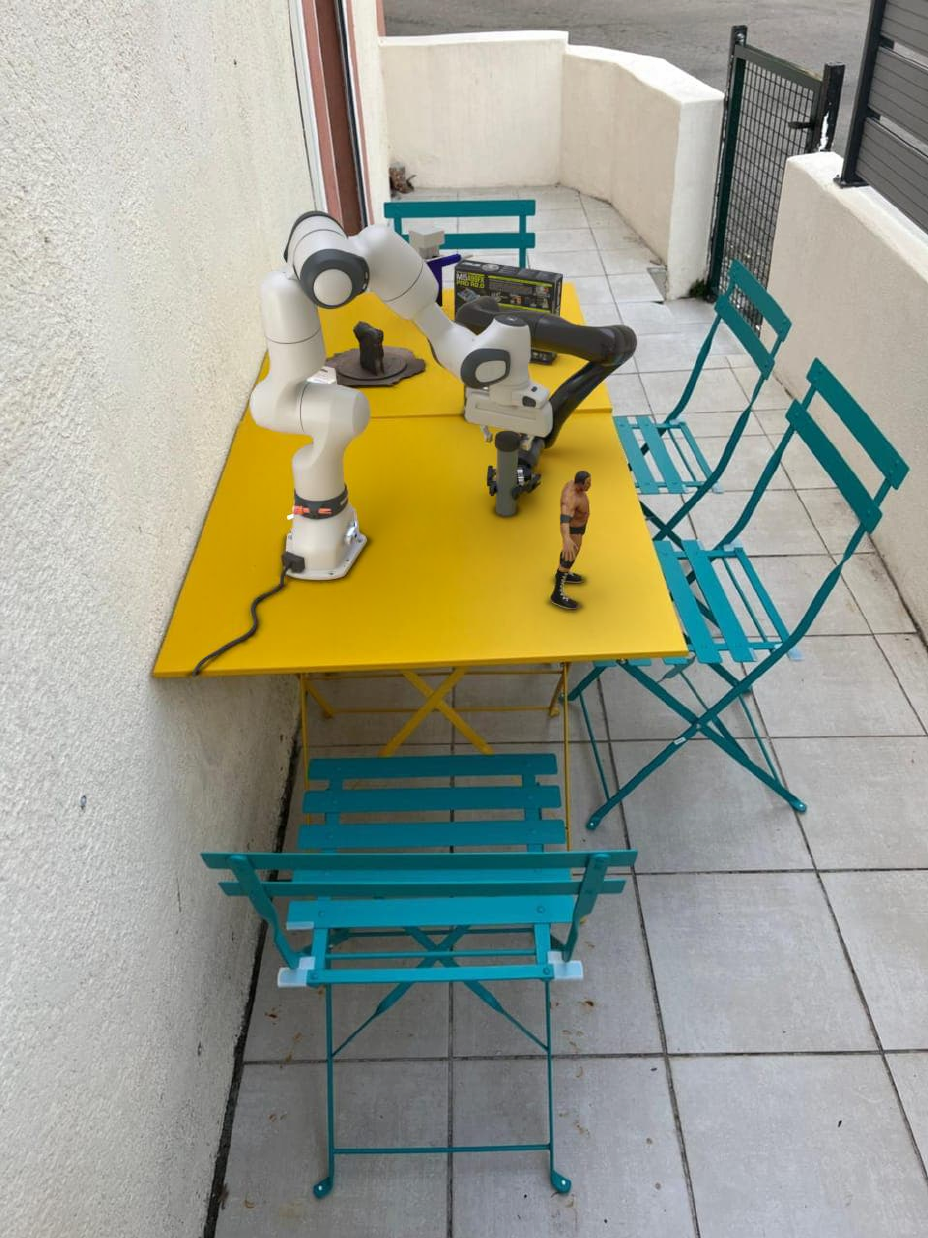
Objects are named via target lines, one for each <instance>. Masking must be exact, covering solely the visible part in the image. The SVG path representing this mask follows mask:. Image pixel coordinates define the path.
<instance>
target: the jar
mask: <svg viewBox="0 0 928 1238" xmlns="http://www.w3.org/2000/svg"><path fill="white" fill-rule="evenodd" d="M495 464H496V466H495V469H496V475H495V477H496V493H495V513H496V514H497V515H498V516H502V517H511V516H514V515H515V514H516V511H517V500H513V493H514V490H515V489H516V487H517V464H518V449H517V450H515V451H510V452H505V451H501V450H498V449H497V448H496V463H495Z"/></svg>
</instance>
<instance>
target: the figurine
mask: <svg viewBox="0 0 928 1238" xmlns="http://www.w3.org/2000/svg"><path fill="white" fill-rule="evenodd" d="M591 475H592V474H591V473H590V472H588V471H587V470H578V471H577V472H576V473H575V475H574V478H573V479H570V480H569V481H567V482H566V483H565V484H564V486H563V487H562V491H561V495H560V500H559V507H560V513H559V531H560V535H561V539H562V549H561V551H560V553H559V562H558V567H557V569H556V573H555V575H554V578H555V584H554V589H553V591H552V593H551V594H550V601H551V602H552V604H554V605H556V606H559V607H561V608H563V609H567V610H575V609H578V607H579V605H580V604H579V602H578V601H576V600H574V599H572V598H570V597H569V596H568V595H567V594H566V593H565V590H564V585H565V583H571V584H572V583H573V584H580V583H583V578H582V575H580V574H578V573H575V572H572V571H570V570H571V568H572V567H573V565H574V564H575V562H576V560H577V557H578V555H579V553H580V550H581V548H582V543H583V536H584V535H585V534H586V529H587V524H588V521H589V518H590V515H591V512H590V500H589V497H588V494H587V493H586V492H588V491H589V489H590V488H591V486H592V483H591V482H592V476H591Z"/></svg>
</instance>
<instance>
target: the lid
mask: <svg viewBox="0 0 928 1238" xmlns="http://www.w3.org/2000/svg"><path fill="white" fill-rule="evenodd" d="M494 447H495V449H496V450H497V449H498V450H501V451H505V452H510V451H515V450H517V449H518V448H519V447H520V435H519V432H514V431H509V430H500V431H498V432H497V433H496V434H495V435H494Z"/></svg>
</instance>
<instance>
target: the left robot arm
mask: <svg viewBox="0 0 928 1238" xmlns="http://www.w3.org/2000/svg"><path fill="white" fill-rule="evenodd" d="M290 229H291V230H290V233H289V236H288V241H287V243H286V246H285V248H284V252H283V259H284V261H285V263H286V264H285V265H284V267H282V268H279V269H274V270H272V271H269V272H268V273H267V274H265V276H263V278H262V279H261V281H260V283H259V285H258V303H259V313H260V320H261V326H262V331H263V336H264V339H265V344H266V347H267V353H268V359H269V370H268V374H267V375H266V377H265V378H264V379H263V380H261V381H260V382H259V383H258V384H257V385H255V387H254V388H253V389H252V392H251V394H250V397H249V411H250V415H251V417H252V419H253V421H254V423H255V424H256V425H257V426H258V427H260V428H263V429H266V430H269V431H271V432H275V433H278V434H288V435H300V436H308V437H310V438H311V439H312V442H309V443H307V444H305V445H303V446H301V447H300V448H299V449H298V450H297V451H295V453H294V455H293V457H292V460H291V469H292V470H291V471H292V477H293V483H294V489H293V504H294V505H293V506H292V508H291V510H292V514H290V515H287V520H291V519H292V523H291V524H292V526H291V527H290V530H289V532H288V533H287V535H286V543H285V551H284V552H283V553H282V554H280V558H281V564H282V567H284V568H283V570H282V571H281V573H280V578H279V584H278V585H277V586H276V587H274V589H272V590H270V591H268V592H265V593H263V594H261V595H259V596H257V597H256V598H254V600H253V601H252V603H251V606H250V614H251V617H252V618H253V625H252V626H251V628H250V630H249V631H247V632H246V633H245V634H243V635H242V636H241V635H240V636H239V637H238V638H235V639H233V640H232V641H230V642H228V643H226V644H225V645H223V646H222V647H220V648H219V649H217V650H215V651H213V652H211V653H209V654H208V655H206V656H204V657H203V658H202V659H200V660H199V661H198V663H197V664H196V665H195V667H194V669H193V671H192V674H191V677H192V678H194V677H196V676H197V675H198V672H199V670H200V669H201V667H202V666H203V665H204V664H205V663H206V662H208V661H209V660H211V659H212V658H214V657H216V656H218V655H219V654H221V653H223V652H224V651H226V650H227V649H229V648H231V647H232V646H234V645H237V644H238V643H240V642H243V641H244V640H246V639H247V638H249V637H250V636H251V635H252V634H253V633H254V632H255V631H256V630H257V628H258V623H259V620H258V616H257V613H256V605H257V604H258V603H259V602H260V601H261V600H262V599H265V598H267V597H269V596H271V595H274V594H275V593H277V592H278V591H280V589H282V587H283V586H284V584H285V576H286V575H287V576H289V577H292V578H295V579H300V580H310V581H330V580H337V579H340V578H343V577H345V576H346V575H347V573H348V572H349V571H350V569H351V567H352V566H353V564H354V563H355V561H356V559H357V558H358V557H359V556H360V553H361V552H362V551H363V549H364V548H365V546H366V544H367V542H368V539H367V536H366V535H365V534H363V533H361V532H360V527H359V520H358V514H357V510H356V508H354V506H352V505H351V503H350V502H349V489H348V486H347V483H346V482H345V472H344V470H345V469H344V459H345V453H346V451H347V449H348V447H349V446H350V445H351V443H352V442H353V441H354V440H355V439H358V438H359V437H360V436H362V435H363V434H364V433H365V431H366V429H367V428H368V427H369V424H370V422H371V414H372V412H371V405H370V401H369V400H368V397H367V395H366V394H365V393H364V392H363V391H362V390H359V389H356V388H353V387H349V386H347V385H346V386H344V385H342V384H340V385H335V384H324V383H313V382H309V381H307V380H306V379H308V378H310V377H312V376H314V375H315V374H316V373H318V372H319V371H320V370H321V368H322V367H323V365H324V363H325V361H327V360H326V359H327V350H326V344H325V339H324V333H323V328H322V323H321V319H320V313H319V308H321V309H324V310H338V309H340V308H342V307H345V306H346V305H348V304H350V303H352V302H353V301H354V300H355V299H356V297H358V296H360V295H362V294H364V293H365V292H366V291H367V289H368V288H369V289H370V291H372V293H373V294H374V295H375V296H376V297H377V298H378V299H379V300H380V301H381V303H382V304H384V306H385V307H387V308H388V309H389V310H390V311H391V312H393V313H394V314H395V315H396V316H398V317H399V318H401V319H402V320H404V321H411V322H412V323H413V324H414V325H415V326H416V327H417V329H418V330H419V331H420V332H421V333H422V334H423V336H424V337H425V338H426V340H427V342H428V345H429V348H430V353H431V356H432V358H433V360H434V362H436V363H437V365H439V366H440V367H442V368H443V369H444V370H446V371H448V372H449V374H451V375H452V376H453V377H454V378H455V379H457V380H458V381H459V382H461V383H462V384H463V385H464V384H465V385H466V386H467V387H466V398H467V403H466V409H465V417H464V418H465V420H466V421H467V423H469V424H475V425H479V430H480V431H481V433H482V435H483V436H484V438H483V440H484V442H485V443H489V444H491V443H492V442H493V441H494V433H493V432H490V430H489V428H495V429H500V430H503V431H514V432H517V433H519V432H520V433H525V434H527V437H528V438H530V439H529V440H525V441H524V442H523V444H522V446H523V447H522V449H523V450H528V451H529V449H530V448H531V441H532V440H533V438H534V437H535V436H540V437H546V436H547V435H548V434H549V433H550V431H551V430H552V424H553V416H552V407H551V404H550V402H549V401H548V399H549V398H550V397H551V391H550V389H549V388H548V387H545V386H544V385H542V384H540V383H538V382H536V381H534V380H533V379H532V378H530V377H531V375H530V371H529V365H530V363H531V361H530V357H531V338H530V330H529V326H528V325H527V324H526V322H524V321H523V320H521V319H520V318H518V317H514V316H511V315H499V316H496V317H495V318H494V319H493V322H492V323H491V325H490V326H489V327H488V328H487V329H486V330H485V331H483V332H482V333H481V334H479V335H478V336H477V335H475V334H474V333H473V332H472V331H471V330H470V329H469V328H468V327H466V326H465V325H464V324H462V323H459V322H456V321H454V320H453V319H451V318H449V317H448V315H447V313H445V311H444V310H443V309H442V308H441V307H439V305H438V304H437V303H436V302H435V301H436V299H437V296H438V291H439V285H438V282H437V280H436V278H435V277H434V275H433V273H432V271H431V270H430V268H429V267H428V265H427V264H426V263H425V261H424V260H423V259H422V258H421V257H420V255H419V254H418V253H417V252H416V251H415V250H414V249H413V248H412V247H411V246H410V245H409V242H407V241H406V239H404V238H403V237H402V236H401V235H400V234H399V233H398V232H396V231H395V230H393V229H392V228H391V227H389V226H388V225H386V224H383V223H374V224H371V225H368V226H366V227H365V228H363V229H362V230H360V231H359V233H358V234H355V235H353V236H351V235H350V236H347V235H346V232H345V230H344V228H343V225H341V223H340V222H339V221H338V220H337V219H336V218H335V217H334V216H333V215H331V214H329V213H328V212H326V211H322V210H314V209H313V210H309V211H306V212H304V213H302V214H300V215H299V216H298V217H297V218H296V220H295V221H294V222H293V225H292V227H291V228H290Z"/></svg>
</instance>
